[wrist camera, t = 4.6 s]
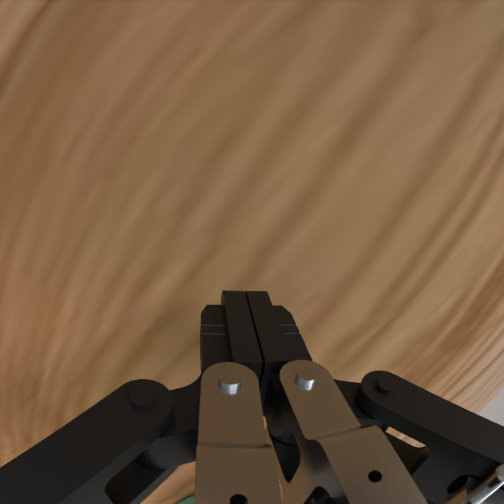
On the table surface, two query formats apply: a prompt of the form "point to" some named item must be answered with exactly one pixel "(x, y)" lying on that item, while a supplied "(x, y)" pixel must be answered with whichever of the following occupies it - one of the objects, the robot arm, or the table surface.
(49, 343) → the table surface
